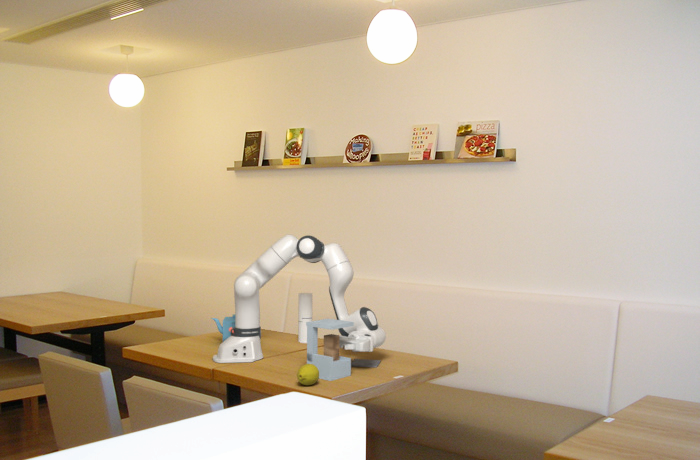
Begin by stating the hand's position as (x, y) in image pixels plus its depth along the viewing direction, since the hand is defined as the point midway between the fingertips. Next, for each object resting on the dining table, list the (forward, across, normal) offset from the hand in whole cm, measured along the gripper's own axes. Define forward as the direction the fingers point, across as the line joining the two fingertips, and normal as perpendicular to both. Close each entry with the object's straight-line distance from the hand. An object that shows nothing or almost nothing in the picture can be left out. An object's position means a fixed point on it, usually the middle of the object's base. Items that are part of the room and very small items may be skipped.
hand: (335, 345), depth 255 cm
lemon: (+20, +4, +12) cm, 24 cm away
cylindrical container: (-40, -58, +12) cm, 71 cm away
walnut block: (+2, 0, +5) cm, 6 cm away
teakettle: (-13, -80, +12) cm, 82 cm away
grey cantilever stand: (+2, 0, +11) cm, 12 cm away
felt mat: (-22, -2, +11) cm, 25 cm away
